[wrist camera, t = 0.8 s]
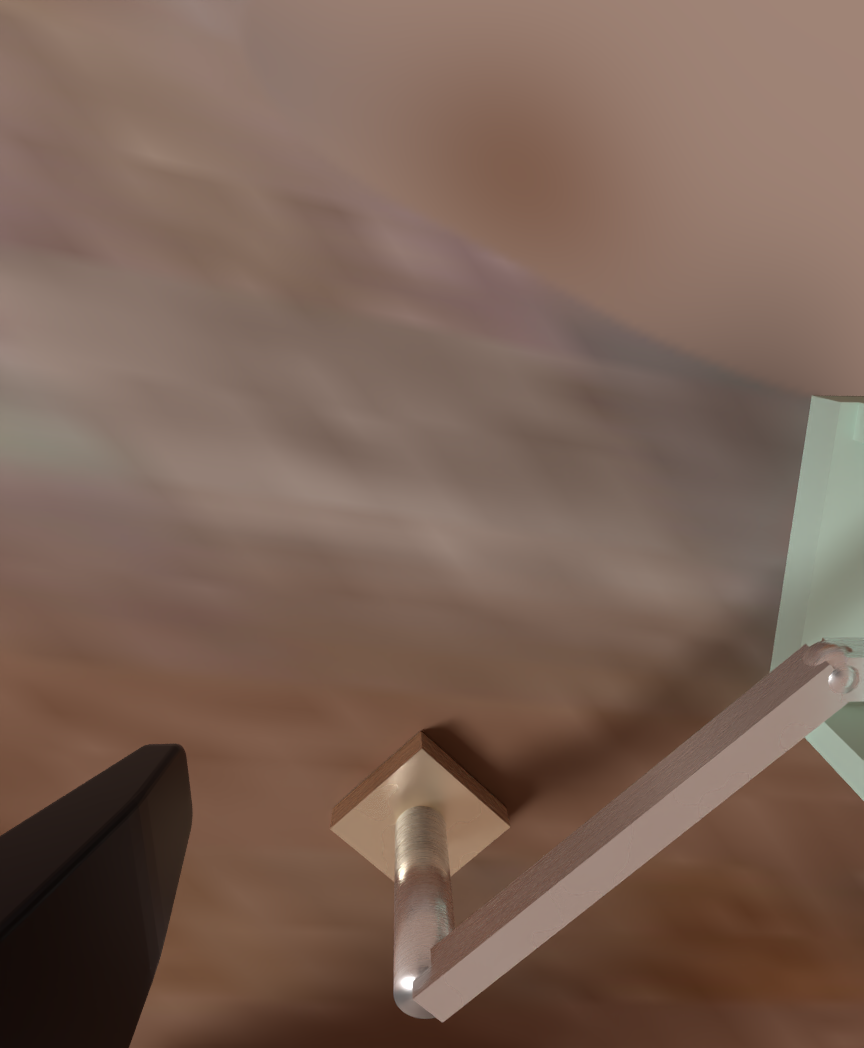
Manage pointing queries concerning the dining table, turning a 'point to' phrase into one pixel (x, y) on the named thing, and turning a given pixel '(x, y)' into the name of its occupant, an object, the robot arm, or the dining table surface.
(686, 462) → the dining table surface
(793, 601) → the mint green frame
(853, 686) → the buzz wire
